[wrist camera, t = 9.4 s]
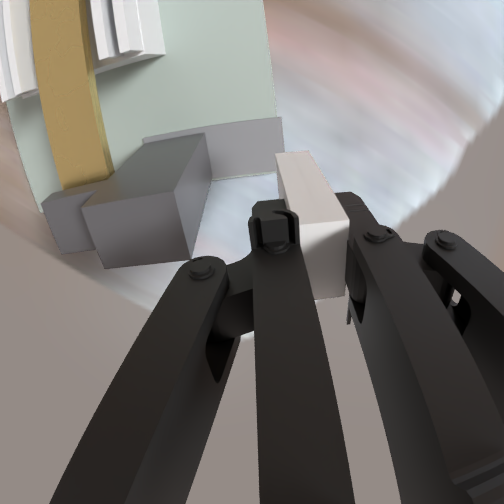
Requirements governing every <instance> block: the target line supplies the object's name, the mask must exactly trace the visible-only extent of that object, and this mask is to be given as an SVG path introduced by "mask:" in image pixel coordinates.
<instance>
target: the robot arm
mask: <svg viewBox="0 0 504 504" xmlns="http://www.w3.org/2000/svg"><path fill="white" fill-rule="evenodd" d="M275 159H276V169H277V180H278V191H279V199H276V200H267V201H257V203H256V204H255V205H254V206H253V208H252V216H251V217H250V218H249V221H248V228H249V235H250V242H251V249H252V251H251V252H250V254H249V255H247V256H246V257H245V258H243V259H242V260H240V261H237V262H235V263H232V264H229V265H226V264H225V262H224V261H223V260H222V259H220V258H218V257H214V256H201V257H197V258H194V259H191V260H189V261H188V262H186V263H184V264H183V265H182V266H181V267H180V268H179V269H178V271H177V273H176V274H175V276H174V277H173V279H172V281H171V282H170V284H169V285H168V287H167V289H166V290H165V292H164V294H163V295H162V297H161V298H160V300H159V302H158V303H157V305H156V307H155V308H154V310H153V312H152V313H151V315H150V317H149V318H148V320H147V322H146V323H145V325H144V327H143V328H142V330H141V332H140V333H139V336H138V337H137V339H136V341H135V342H134V344H133V345H132V347H131V349H130V351H129V352H128V354H127V356H126V358H125V359H124V361H123V363H122V365H121V366H120V368H119V370H118V372H117V373H116V375H115V377H114V379H113V381H112V382H111V384H110V386H109V388H108V390H107V391H106V393H105V395H104V397H103V399H102V401H101V402H100V404H99V406H98V408H97V410H96V412H95V413H94V415H93V417H92V419H91V421H90V423H89V425H88V427H87V428H86V431H85V432H84V434H83V436H82V438H81V440H80V442H79V444H78V446H77V448H76V450H75V452H74V454H73V456H72V458H71V460H70V462H69V464H68V466H67V468H66V470H65V472H64V474H63V476H62V478H61V480H60V482H59V484H58V486H57V488H56V490H55V493H54V495H53V497H52V499H51V501H50V503H49V504H185V503H186V500H187V497H188V495H189V492H190V489H191V486H192V483H193V480H194V477H195V474H196V472H197V469H198V466H199V463H200V460H201V457H202V454H203V451H204V448H205V445H206V442H207V439H208V436H209V434H210V431H211V427H212V425H213V422H214V418H215V416H216V413H217V410H218V407H219V404H220V401H221V398H222V395H223V392H224V389H225V386H226V383H227V379H228V377H229V374H230V370H231V367H232V364H233V361H234V358H235V355H236V352H237V349H238V346H239V343H240V338H241V335H243V334H246V333H249V332H252V331H254V341H255V370H256V400H257V401H256V403H257V430H258V431H257V432H258V462H259V463H258V464H259V493H260V494H259V495H260V504H355V500H354V493H353V488H352V481H351V476H350V470H349V463H348V458H347V452H346V447H345V441H344V436H343V430H342V425H341V420H340V415H339V410H338V405H337V400H336V395H335V390H334V385H333V380H332V376H331V371H330V367H329V362H328V357H327V353H326V348H325V344H324V339H323V335H322V331H321V326H320V322H319V318H318V313H317V309H316V305H315V301H314V300H318V299H326V298H334V297H341V296H345V287H346V284H347V287H348V290H349V302H348V311H347V324H350V321H351V317H352V319H353V322H354V325H355V328H356V331H357V334H358V337H359V340H360V344H361V347H362V350H363V353H364V357H365V360H366V363H367V367H368V370H369V374H370V377H371V380H372V384H373V388H374V391H375V395H376V398H377V402H378V405H379V409H380V413H381V417H382V420H383V425H384V429H385V432H386V436H387V440H388V444H389V449H390V453H391V457H392V461H393V466H394V470H395V475H396V479H397V484H398V489H399V493H400V499H401V504H504V272H502V271H501V270H500V269H499V268H498V267H497V266H495V265H494V264H493V263H492V262H491V261H489V260H488V259H487V258H486V257H485V256H483V255H482V254H481V253H480V252H479V251H477V250H476V249H475V248H474V247H472V246H471V245H470V244H469V243H467V242H466V241H465V240H464V239H462V238H461V237H459V236H458V235H456V234H454V233H451V232H449V231H446V230H444V231H443V230H436V231H431V232H429V233H427V235H426V237H425V240H424V244H417V243H407V242H403V241H402V239H401V238H400V237H399V235H398V234H397V233H396V232H395V231H394V230H393V229H391V228H389V227H387V226H383V225H379V224H378V222H377V221H376V219H375V218H374V216H373V215H372V213H371V212H370V211H369V209H368V208H367V206H366V205H365V203H364V202H363V201H362V199H361V198H360V197H359V196H357V195H356V194H354V193H352V192H341V193H334V192H333V190H332V189H331V187H330V185H329V184H328V182H327V180H326V179H325V177H324V175H323V174H322V172H321V170H320V169H319V167H318V165H317V164H316V162H315V160H314V159H313V157H312V156H311V154H310V152H309V151H296V152H285V153H275ZM455 289H456V290H457V291H458V292H459V293H460V294H461V298H460V300H459V303H458V304H457V303H455V302H454V301H453V300H452V296H453V293H454V290H455Z"/></svg>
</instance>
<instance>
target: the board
mask: <svg viewBox="0 0 504 504" xmlns="http://www.w3.org/2000/svg"><path fill="white" fill-rule="evenodd" d="M85 1H86V12H87V22H88V31H89V39H90V47H91V54H92V61H93V67H94V74H95V80H96V86H97V91H98V97H99V102H100V107H101V112H102V117H103V122H104V127H105V132H106V136H107V141H108V145H109V150H110V154H111V158H112V162H113V166H114V170H115V172H116V171H117V170H118V169H119V168H120V167H121V166H122V165H123V164H124V163H125V162H126V161H127V160H128V159H129V158H130V157H131V156H132V155H133V154H134V153H135V152H136V151H137V150H138V149H139V148H141V147H142V146H143V145H144V144H145V143H149V142H154V141H159V140H164V139H169V138H175V137H180V136H186V135H192V134H198V133H204V132H205V136H206V142H207V147H208V153H209V159H210V164H211V170H212V175H213V176H212V180H211V181H213V180H220V179H228V178H236V177H244V176H252V175H261V174H270V173H277V169H276V159H275V153H285V150H284V139H283V129H282V119H281V117H277V112H276V102H275V93H274V85H273V76H272V68H271V59H270V51H269V44H268V36H267V28H266V21H265V14H264V6H263V0H85ZM0 94H1V99H2V103H3V102H5V101H6V103H7V108H8V112H9V116H10V120H11V124H12V128H13V132H14V136H15V139H16V143H17V146H18V150H19V153H20V156H21V160H22V163H23V166H24V169H25V172H26V175H27V178H28V181H29V184H30V187H31V189H32V192H33V195H34V198H35V200H36V203H37V206H38V208H39V211H40V213H42V212H44V211H43V209H42V206H41V204H40V203H42V202H43V201H44V200H45V199H46V198H47V197H48V196H49V195H50V194H51V193H55V192H58V191H62V186H61V183H60V180H59V176H58V173H57V169H56V165H55V162H54V158H53V154H52V150H51V146H50V142H49V138H48V133H47V129H46V124H45V120H44V115H43V110H42V105H41V100H40V94H39V88H38V82H37V76H36V69H35V62H34V53H33V44H32V34H31V21H30V3H29V0H0Z"/></svg>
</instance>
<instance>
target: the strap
mask: <svg viewBox="0 0 504 504" xmlns="http://www.w3.org/2000/svg"><path fill="white" fill-rule="evenodd" d="M29 3H30V21H31V34H32V44H33V53H34V62H35V69H36V76H37V82H38V88H39V94H40V100H41V105H42V110H43V115H44V120H45V124H46V129H47V133H48V138H49V142H50V146H51V150H52V154H53V158H54V162H55V165H56V169H57V173H58V176H59V180H60V183H61V186H62V190H66V189H70V188H74V187H78V186H82V185H87V184H91V183H95V182H100V181H104V180H108V179H109V178H110V177H111V176H112V175H113V174H114V173H115V170H114V166H113V162H112V158H111V154H110V150H109V145H108V141H107V136H106V132H105V127H104V122H103V117H102V112H101V107H100V102H99V97H98V91H97V86H96V80H95V74H94V67H93V61H92V54H91V47H90V39H89V31H88V22H87V12H86V1H85V0H29Z"/></svg>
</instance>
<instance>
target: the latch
mask: <svg viewBox="0 0 504 504" xmlns="http://www.w3.org/2000/svg"><path fill="white" fill-rule="evenodd" d="M212 176H213V175H212V170H211V164H210V159H209V153H208V147H207V142H206V136H205V132H204V133H198V134H192V135H186V136H180V137H175V138H169V139H164V140H159V141H154V142H149V143H145V144H144V145H143V146H142V147H141V148H139V149H138V150H137V151H136V152H135V153H134V154H133V155H132V156H131V157H130V158H129V159H128V160H127V161H126V162H125V163H124V164H123V165H122V166H121V167H120V168H119V169H118V170H117V171H116V172H115V173H114V174H113V175H112V176H111V177H110V178H109V179H108V180H104V181H100V182H95V183H91V184H87V185H82V186H78V187H74V188H70V189H66V190H62V191H58V192H55V193H51V194H50V195H49V196H48V197H47V198H46V199H45V200H44V201H43V202H42V203H40V204H41V206H42V209H43V211H44V214H45V216H46V219H47V221H48V224H49V226H50V229H51V231H52V234H53V236H54V238H55V241H56V243H57V245H58V247H59V250H60V252H61V254H68V253H75V252H82V251H89V250H96V249H97V252H98V254H99V257H100V259H101V261H102V264H103V266H104V268H105V269H110V268H120V267H129V266H138V265H147V264H157V263H166V262H175V261H185V260H191V259H192V254H193V250H194V246H195V242H196V238H197V234H198V230H199V226H200V222H201V218H202V214H203V210H204V206H205V203H206V199H207V195H208V191H209V187H210V184H211V180H212Z"/></svg>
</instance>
